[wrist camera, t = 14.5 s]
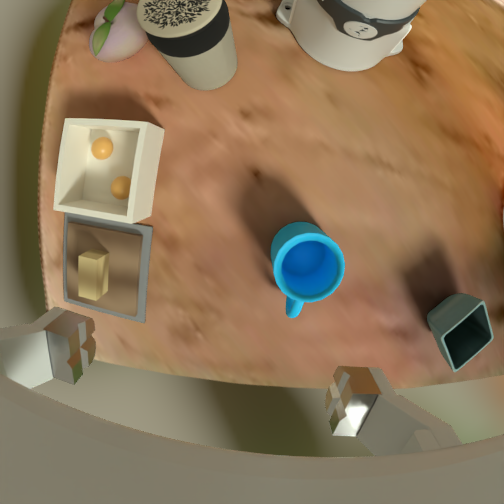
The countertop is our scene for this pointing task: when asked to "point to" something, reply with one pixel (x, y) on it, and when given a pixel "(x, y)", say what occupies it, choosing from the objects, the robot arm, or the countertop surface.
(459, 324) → the flower pot
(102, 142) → the clementine
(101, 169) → the box
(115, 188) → the clementine
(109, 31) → the decorative fruit
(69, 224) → the lid
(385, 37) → the robot arm
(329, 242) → the mug
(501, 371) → the countertop surface
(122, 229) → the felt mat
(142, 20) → the travel mug
